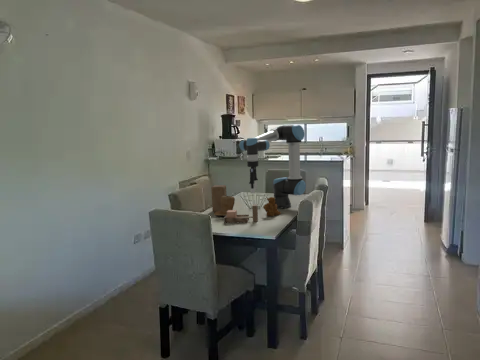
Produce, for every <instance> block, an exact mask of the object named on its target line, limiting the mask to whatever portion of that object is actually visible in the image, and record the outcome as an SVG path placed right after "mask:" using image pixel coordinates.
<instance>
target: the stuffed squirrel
mask: <svg viewBox="0 0 480 360" xmlns="http://www.w3.org/2000/svg"><path fill="white" fill-rule="evenodd" d="M266 200H267V203H265V204H264V205H263V206H262V209H264V211H265V212H266V215H267V216H268V217H274V216H279V215H281V214H282V211H279V208H277V204H275V202H276V201H275V198H274V196H270V197H269V198H266Z"/></svg>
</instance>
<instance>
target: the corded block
mask: <svg viewBox="0 0 480 360" xmlns="http://www.w3.org/2000/svg"><path fill="white" fill-rule="evenodd" d="M251 208H252V216H250V215H249V216H248V217H237V215H238V212H237V209H233V210H228V211H227V218H249V219H252V222H255V223H256V222H258V220H259V211H258V204H256V203H255V204H252V207H251Z"/></svg>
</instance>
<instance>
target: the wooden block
mask: <svg viewBox="0 0 480 360" xmlns="http://www.w3.org/2000/svg"><path fill="white" fill-rule="evenodd" d="M210 189H211V190H210V191H211V204H212V205H211V207H212V209H211V210H212V212H213V213H215V212H216V211H221V210H222V206H221V197H222V196H228V195H227V185H226V184H214V185H213V186H211V188H210Z"/></svg>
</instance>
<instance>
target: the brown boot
mask: <svg viewBox="0 0 480 360" xmlns="http://www.w3.org/2000/svg"><path fill="white" fill-rule="evenodd" d="M235 201H236V199H235V197H234V196H230V195H227V196H222V197H221V206H222V210H221V211H216V212H213V215H214V216H217V217H225V216H226V215H227V211H228V210H234V207H235Z"/></svg>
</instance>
